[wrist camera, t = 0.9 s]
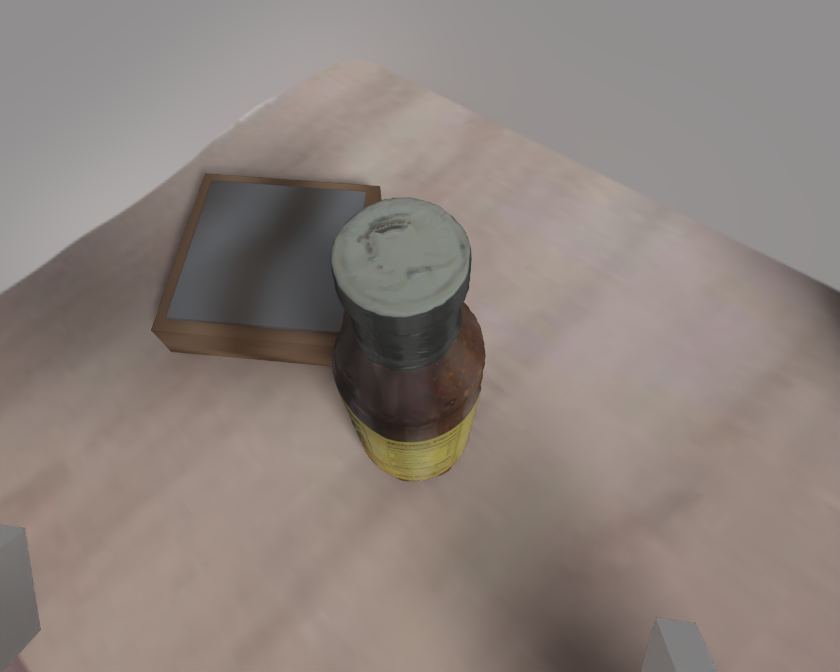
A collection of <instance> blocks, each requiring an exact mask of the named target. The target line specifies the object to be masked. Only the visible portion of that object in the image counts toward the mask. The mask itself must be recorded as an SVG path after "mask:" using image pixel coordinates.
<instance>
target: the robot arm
mask: <svg viewBox="0 0 840 672" xmlns="http://www.w3.org/2000/svg"><path fill="white" fill-rule="evenodd" d="M40 630H41V628H40V621H39V615H38V608H37V602H36V595H35V589H34V582H33V576H32V569H31V563H30V556H29V550H28V543H27V537H26V530H25V528H23V527H16V526H9V525H2V524H0V672H3V671H4V670H5V668H7V667H8V665H9V664H10V663H11V662H12V661H13V660H14V659H15V658H16V657H17V655H18V654H19V653H20V652H21V651H22V650H23V649H24V648H25V647H26V645H27V644H28V643H29V642H30V641H31V640H32V639H33V638H34V637H35V635H36V634H37V633H38V632H39V631H40ZM641 672H717V670H716V667H715V665H714V663H713V661H712V659H711V656H710V654H709V652H708V650H707V648H706V645H705V643H704V641H703V639H702V637H701V634H700V632H699V630H698V628H697V625H696V623H691V622H684V621H677V620H670V619H663V618H656V619H655V622H654V626H653V629H652V633H651V637H650V640H649V644H648V647H647V651H646V655H645V658H644V662H643V665H642V669H641Z"/></svg>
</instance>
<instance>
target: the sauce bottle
mask: <svg viewBox="0 0 840 672" xmlns="http://www.w3.org/2000/svg"><path fill="white" fill-rule="evenodd" d="M331 271H332V275H333V279H334V286H335V290H336V293H337V295H338V298H339V300H340V302H341V304H342V306H343V308H344V309H345V311H346V312H347V313H348V316H347V318H346V320H345V322H344V324H343V326H342V328H341V330H340V332H339V334H338V336H337V338H336V340H335V344H334V348H333V354H332V367H333V374H334V379H335V382H336V385H337V388H338V391H339V393H340V395H341V397H342V400H343V402H344V404H345V406H346V408H347V411H348V413H349V415H350V418H351V420H352V423H353V425H354V427H355V429H356V431H357V433H358V436H359V438H360V441H361V443H362V445H363V447H364V449H365V451H366V453H367V455H368V456H369V458H370V459H371V460H372V461H373V463H374V464H375V465H376V466H377V467H378V468H380V469H381V470H382V471H384V472H385V473H387V474H389V475H392V476H394V477H396V478H398V479H400V480H403V481H420V480H427V479H430V478H433V477H436V476H439V475H442V474H444V473H445V472H447V471H449V470H450V469H451V466H452V465H453V464H454V463H455V462H456V461H457V460H458V459H459V458H460V456H461V454H462V453H463V451H464V449H465V447H466V445H467V442H468V439H469V434H470V431H471V427H472V423H473V419H474V415H475V411H476V407H477V403H478V399H479V395H480V391H481V383H482V378H483V369H484V366H485V356H486V355H485V348H484V341H483V335H482V332H481V328H480V325H479V324H478V321H477V319H476V317H475V315H474V314H473V313H472V312H471V311H470V309H469V307H468V306H467V305H466V304H465V303H464V302H463V301H464V300H465V297H466V294H467V292H468V289H469V281H470V272H471V247H470V244H469V240H468V237H467V235H466V233H465V231H464V229H463V228H462V226H461V225H460V224H459V223H458V222H457V221H456V220H455V219H454V218H453V217H452V216H451V215H450V214H449V213H447V212H446V211H445V210H443V209H442V208H441V207H439V206H437V205H435V204H432V203H430V202H426V201H423V200H419V199H414V198H392V199H384V200H382V201H379V202H377V203H375V204H372V205H370V206H368V207H366V208H364V209H363V210H361V211H360V212H358V213H356V214H355V215H354V216H353V217H352V218H350V219H349V220H348V221H347V222H346V223H345V224H344V225H343V226H342V228H341V230H340V232H339V233H338V235H337V236H336V238H335V239H334V242H333V246H332V249H331Z"/></svg>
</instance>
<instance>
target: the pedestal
mask: <svg viewBox="0 0 840 672" xmlns="http://www.w3.org/2000/svg"><path fill="white" fill-rule="evenodd" d="M379 201H382V200H381V191H380V186H369V185H355V184H342V183H328V182H315V181H301V180H287V179H274V178H260V177H246V176H233V175H219V174H205V175H204V178H203V181H202V184H201V187H200V190H199V193H198V196H197V198H196V201H195V204H194V207H193V210H192V213H191V216H190V219H189V222H188V225H187V227H186V230H185V233H184V236H183V239H182V242H181V245H180V248H179V251H178V254H177V257H176V259H175V262H174V265H173V268H172V271H171V274H170V277H169V280H168V283H167V286H166V288H165V291H164V294H163V297H162V300H161V303H160V306H159V309H158V312H157V315H156V318H155V320H154V323H153V326H152V329H151V331H152V332H153V333H154V334H155V335H156V336H157V337H158V338H159V339H160V340H161V341H162V342H163V343H164V344H165V346H166V347H167V348H168V349H169V350H170V351H171V352H181V353H192V354H203V355H214V356H225V357H236V358H247V359H258V360H269V361H280V362H291V363H302V364H313V365H324V366H332V354H333V348H334V344H335V340H336V338H337V336H338V334H339V332H340V330H341V328H342V326H343V324H344V322H345V320H346V318H347V316H348V313H347V312H346V311H345V309H344V308H343V306H342V304H341V302H340V300H339V298H338V295H337V293H336V290H335V286H334V279H333V275H332V271H331V249H332V246H333V242H334V239H335V238H336V236H337V235H338V233H339V232H340V230H341V228H342V226H343V225H344V224H345V223H346V222H347V221H348V220H349V219H350V218H352V217H353V216H354V215H355V214H356V213H358V212H360V211H361V210H363V209H364V208H366V207H368V206H370V205H372V204H375V203H377V202H379Z"/></svg>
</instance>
